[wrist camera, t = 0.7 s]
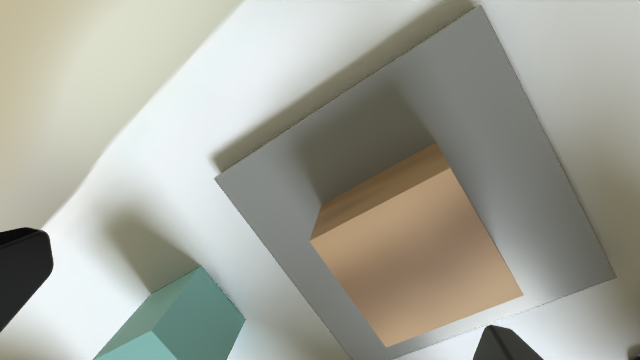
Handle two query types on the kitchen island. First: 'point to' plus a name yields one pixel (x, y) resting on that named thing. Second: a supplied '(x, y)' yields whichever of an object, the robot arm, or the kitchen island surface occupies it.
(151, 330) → the teal brick
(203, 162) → the kitchen island surface
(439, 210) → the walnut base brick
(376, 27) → the kitchen island surface
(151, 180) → the kitchen island surface
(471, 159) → the baseplate
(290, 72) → the kitchen island surface
